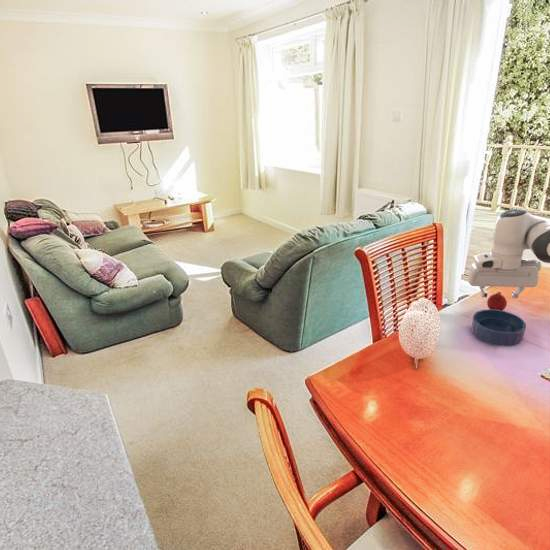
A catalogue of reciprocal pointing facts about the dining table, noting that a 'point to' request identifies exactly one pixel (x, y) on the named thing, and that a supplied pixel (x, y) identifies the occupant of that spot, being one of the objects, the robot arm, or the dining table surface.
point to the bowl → (498, 327)
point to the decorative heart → (420, 329)
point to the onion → (497, 302)
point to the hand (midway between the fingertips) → (499, 297)
